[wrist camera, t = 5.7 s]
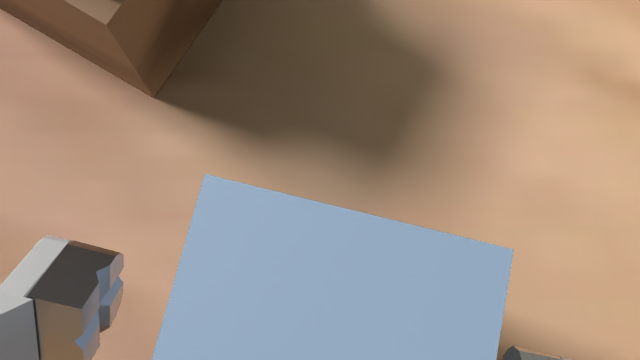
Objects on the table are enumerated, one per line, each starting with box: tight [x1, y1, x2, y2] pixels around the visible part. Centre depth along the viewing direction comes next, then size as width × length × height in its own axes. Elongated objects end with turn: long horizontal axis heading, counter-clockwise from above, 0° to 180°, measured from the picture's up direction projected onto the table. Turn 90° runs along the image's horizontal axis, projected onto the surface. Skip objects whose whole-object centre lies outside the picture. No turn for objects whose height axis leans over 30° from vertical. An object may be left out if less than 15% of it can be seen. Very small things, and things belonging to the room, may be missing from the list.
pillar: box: [152, 174, 514, 360], centre depth 12 cm, size 4×4×9 cm
